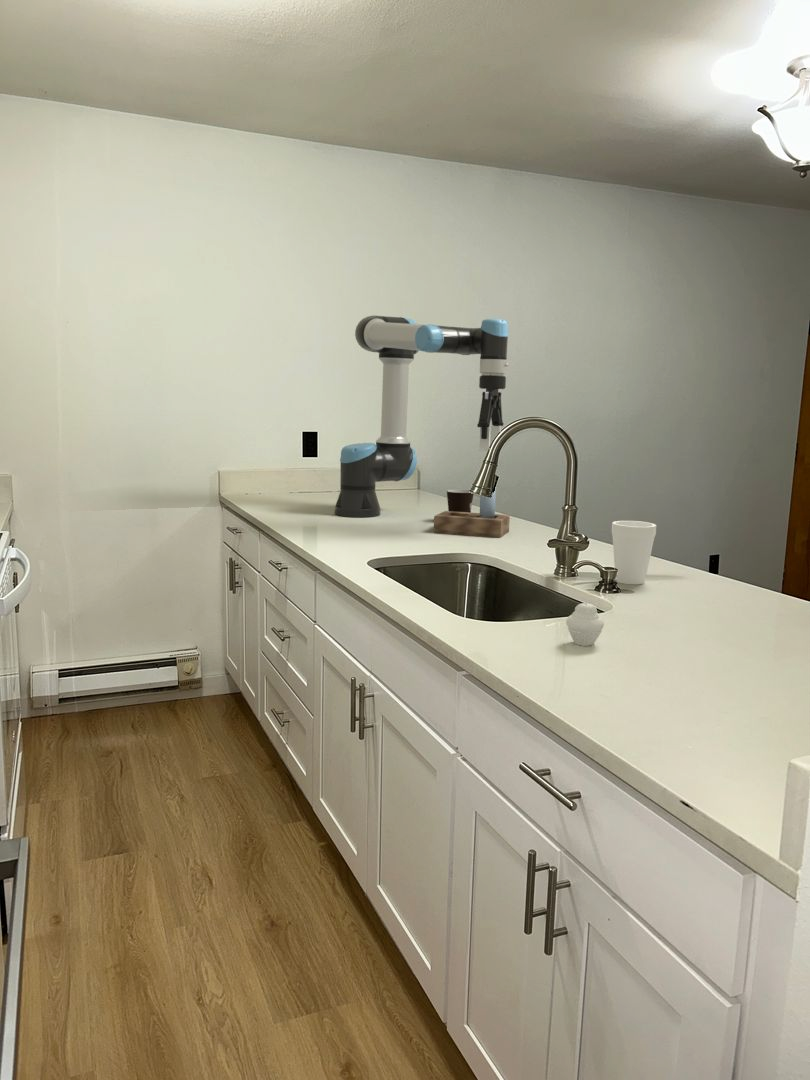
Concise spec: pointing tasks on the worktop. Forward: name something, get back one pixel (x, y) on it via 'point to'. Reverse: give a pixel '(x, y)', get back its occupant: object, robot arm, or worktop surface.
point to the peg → (487, 506)
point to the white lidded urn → (585, 624)
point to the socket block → (471, 524)
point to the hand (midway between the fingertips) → (489, 449)
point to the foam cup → (632, 549)
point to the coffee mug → (459, 500)
